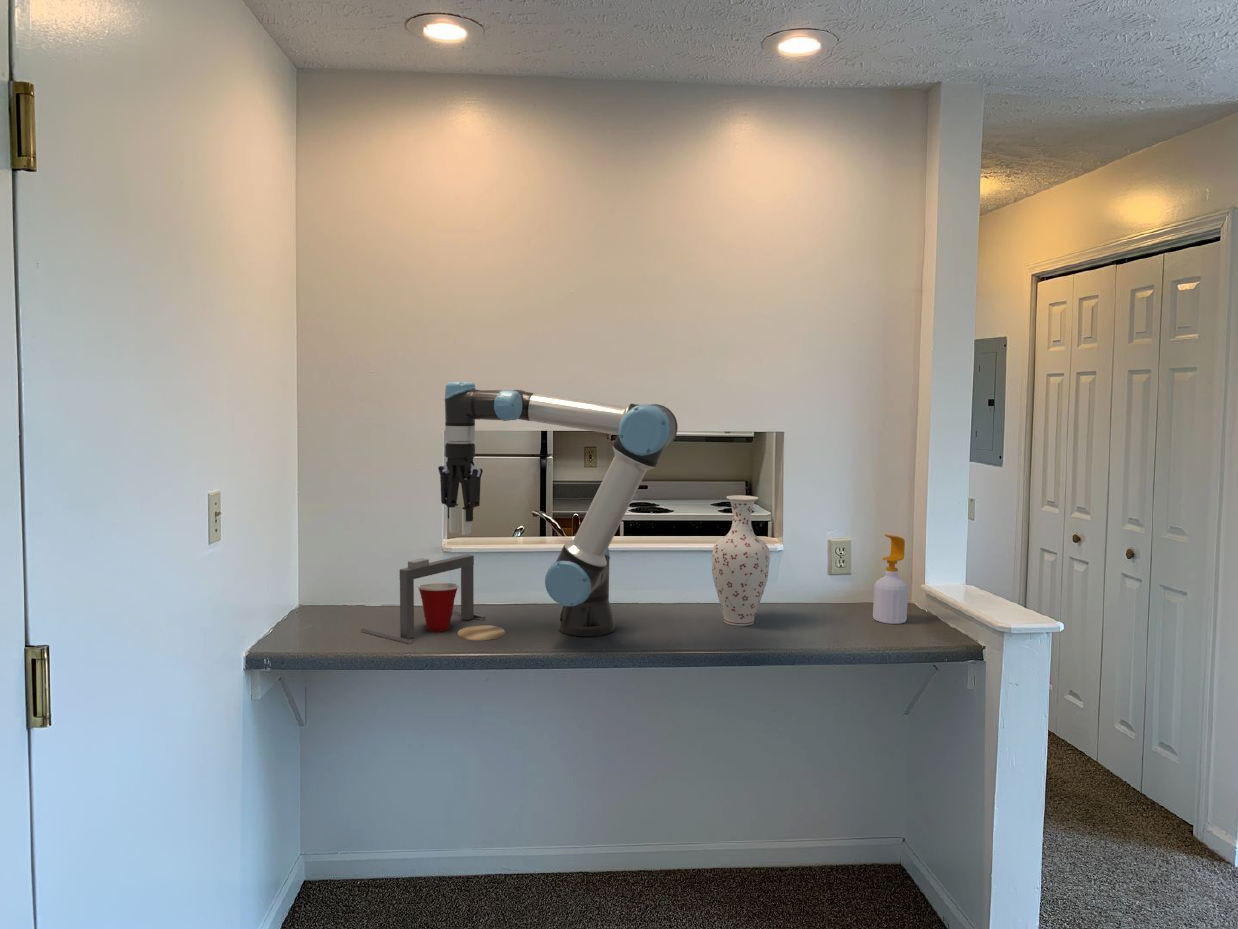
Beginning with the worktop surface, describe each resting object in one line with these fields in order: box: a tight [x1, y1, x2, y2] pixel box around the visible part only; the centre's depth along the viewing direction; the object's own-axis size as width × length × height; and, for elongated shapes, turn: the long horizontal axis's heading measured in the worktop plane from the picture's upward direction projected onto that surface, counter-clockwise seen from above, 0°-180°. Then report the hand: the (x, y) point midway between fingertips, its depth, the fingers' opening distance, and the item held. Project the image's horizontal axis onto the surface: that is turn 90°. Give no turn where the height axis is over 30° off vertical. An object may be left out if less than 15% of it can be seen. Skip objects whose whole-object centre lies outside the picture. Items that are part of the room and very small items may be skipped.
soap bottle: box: [872, 533, 909, 625], centre depth 242 cm, size 9×9×25 cm
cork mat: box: [457, 624, 505, 642], centre depth 224 cm, size 12×12×1 cm
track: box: [360, 608, 486, 645], centre depth 231 cm, size 18×28×1 cm, turn 147°
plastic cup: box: [417, 582, 460, 633], centre depth 228 cm, size 11×11×12 cm
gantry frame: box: [399, 554, 475, 639], centre depth 227 cm, size 3×24×19 cm, turn 147°
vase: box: [711, 494, 771, 627], centre depth 238 cm, size 16×16×35 cm
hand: (460, 532), depth 221 cm, fingers open, 4 cm apart
